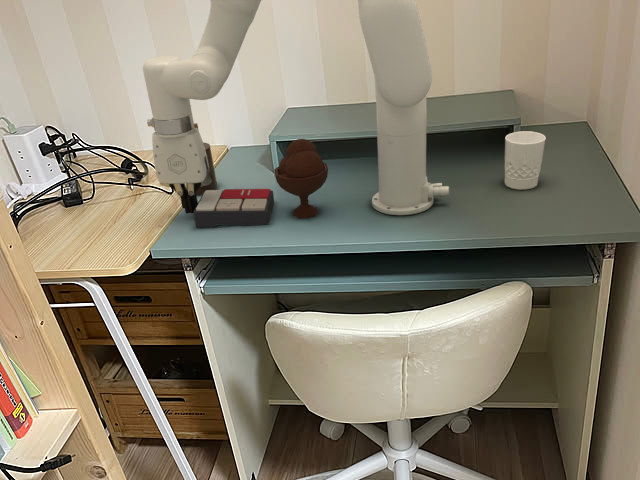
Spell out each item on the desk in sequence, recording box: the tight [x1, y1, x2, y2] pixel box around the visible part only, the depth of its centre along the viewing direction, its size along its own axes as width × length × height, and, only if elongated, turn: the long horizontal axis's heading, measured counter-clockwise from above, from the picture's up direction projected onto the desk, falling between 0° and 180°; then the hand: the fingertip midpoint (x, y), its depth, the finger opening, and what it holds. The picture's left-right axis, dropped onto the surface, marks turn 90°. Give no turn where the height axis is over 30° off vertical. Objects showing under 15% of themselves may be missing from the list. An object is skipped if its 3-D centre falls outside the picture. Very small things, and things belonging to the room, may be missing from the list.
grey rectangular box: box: [193, 188, 275, 229], centre depth 134 cm, size 11×4×15 cm
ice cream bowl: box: [274, 138, 329, 219], centre depth 129 cm, size 11×11×15 cm
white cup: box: [504, 130, 547, 191], centre depth 134 cm, size 8×8×10 cm
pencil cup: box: [185, 122, 218, 196], centre depth 145 cm, size 7×7×16 cm
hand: (191, 210), depth 136 cm, fingers closed
